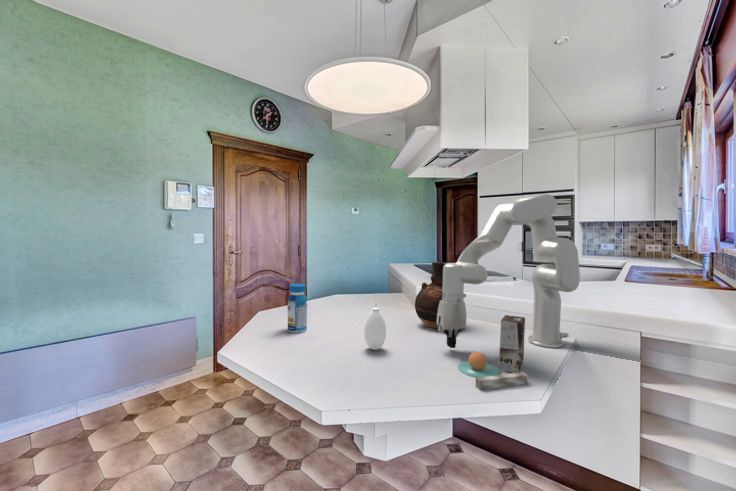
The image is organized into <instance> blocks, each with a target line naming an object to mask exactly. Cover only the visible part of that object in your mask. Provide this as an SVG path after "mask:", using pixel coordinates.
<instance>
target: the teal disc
mask: <svg viewBox="0 0 736 491" xmlns="http://www.w3.org/2000/svg"><path fill="white" fill-rule="evenodd" d="M457 369H458V370H459V371H460V372H461V373H462V374H465V375H466V376H468V377H473V378H479V377H487V376H496V375H502V374H501V373H502V372H501V371H502V370H500V369H499V367H497V366H495V365H494V364H491V363H488V362H487V364H486V366H485V368H483V369H482V370H476V369H474V368H472V367H471V366H470V364H469V360H466V361H462V362H459V363H458V365H457Z"/></svg>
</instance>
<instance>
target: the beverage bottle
mask: <svg viewBox="0 0 736 491" xmlns="http://www.w3.org/2000/svg"><path fill="white" fill-rule="evenodd" d="M289 293H290V294H289V296H288V298H287V303H288V304H287V331H288V332H289V333H296V334H299V333H303V332H305V331H307V327H308V325H307V321H308V317H307V316H308V304H307V301H308V298H307V295H306V294H305V293H306V284H305V283H291V284H289Z"/></svg>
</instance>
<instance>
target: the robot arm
mask: <svg viewBox="0 0 736 491" xmlns="http://www.w3.org/2000/svg"><path fill="white" fill-rule="evenodd" d="M557 207H558V201H557V199H556V198H555V197H554V196H553V195H551V194H548V193H543V194H542V193H541V194H535V195H526V196H522V197H519V198H517V199H516V200H515V201H510V202H503V203H502V202H501V203H500V204H498V205H497V206H496V207H495V208H494V209H493V211H492V212H491V215H490V216H489V218H488V220H487V221H486V224H485V225H484V227H483V229H482V230H481V232H480V234H479V236H477V237H476V238H474V240H473V241H471V242H470V244H469V245H467V247H465V248H464V250H463V251H462V252H461V254H460V256H459V257H458V259H457V261H456V262H455V263H447V264H445V265H444V267H443V288H442V300H440V303H439V307H438V313H437V326H439V327H438V328H437V331H438V332H439V333H444V334H445V336H446V345H447V347H448V348H450V349H455V348H456V347H457V346H456V345H457V338H458V336H459V334H460V333H461V332H464V331H466V327H467V308H466V303H465V302H466V301H464V298H467V295H466V293H464V288H465V286H464V285H465V284H470V285H481V284H483V283H484V282H486V281H487V279H488V276H489V273H488V271H487V268H486V267H485V266H483V265H481V264H479V263H478V261H479V260H480V259H481V258H482V257H484V255H486V254H488V253H490V252H493V251H495V250H497V249H498V248H500V247H501V246H502V245H503V243H504V241H505V239H506V237H507V235H508V233H509V232H510V230H511V229H512V227H513V226H523V225H529V227H530V232H531V237H532V238H531V239H532V248H533V254H534V257H535V258H536V259H537V260H539V261H542V262H548V263H542V264H539V265H537V266H536V267H535V268H534V269H533V271H532V274H531V277H532V278H531V279H532V286H533V318H532V320H533V321H532V335H529V336H528V337H527V340H528V342H529V343H531V344H533V345H535V346H539V347H543V348H550V349H553V348H554V349H558V348H563V347H564V346H565V344H564V341H563V340H562V339H564V338H566V339H567V338H569V337H570V336H569V333H568V332H561V331H560V329H561V309H562V298H561V294H560V292H563V293H572V292H574V291H576V290H577V288H579V285H580V282H581V272H580V271H581V270H580V263H579V262H580V261H579V252H578V248H577V245H576V244H575V243H574V242H573V240H571V239H570V238H566V237H558V233H557V230H556V224H555V221H554V219H553V217H552V215H554V213H555V212H556V211H557ZM549 263H554V264H549Z"/></svg>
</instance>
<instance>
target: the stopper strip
mask: <svg viewBox="0 0 736 491" xmlns="http://www.w3.org/2000/svg"><path fill="white" fill-rule="evenodd" d="M526 384H528V374H527V373H524V372H523V371H521V372H520V373H512V372H511V373H505V374H500V375H496V376H487V377H479V378H477V377H475V388H477V389H478V390H479V391H480V390H481V391H482V390H489V389H495V388H504V387H511V386H517V385H518V386H519V385H526Z"/></svg>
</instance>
